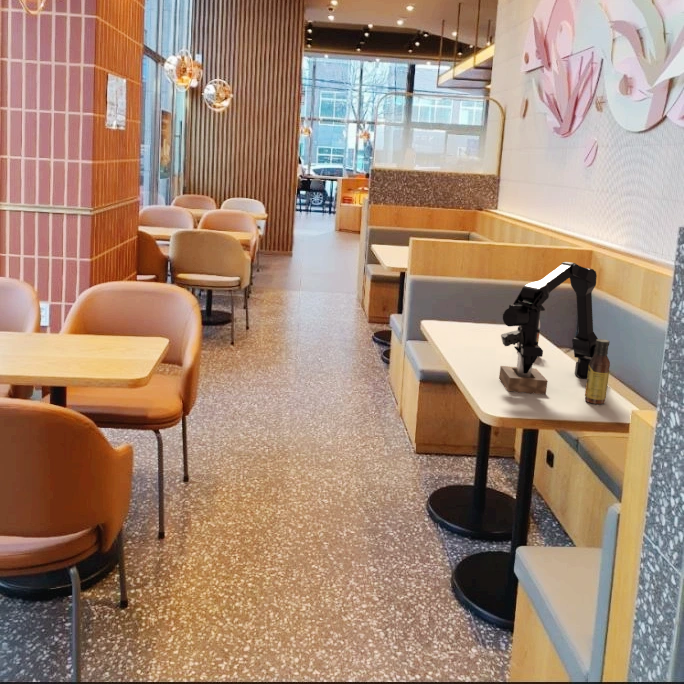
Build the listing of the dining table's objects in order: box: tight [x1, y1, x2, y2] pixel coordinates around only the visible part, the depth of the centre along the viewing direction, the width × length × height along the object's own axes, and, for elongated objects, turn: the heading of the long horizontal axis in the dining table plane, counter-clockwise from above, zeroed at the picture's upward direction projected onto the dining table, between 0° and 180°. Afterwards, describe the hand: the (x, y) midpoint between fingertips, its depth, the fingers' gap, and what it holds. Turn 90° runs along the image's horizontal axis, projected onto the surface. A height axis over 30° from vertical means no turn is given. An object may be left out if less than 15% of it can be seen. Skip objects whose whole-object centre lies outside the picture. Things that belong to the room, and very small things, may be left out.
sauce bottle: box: [584, 338, 611, 405], centre depth 259 cm, size 6×6×20 cm
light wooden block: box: [516, 352, 533, 378], centre depth 272 cm, size 4×4×9 cm
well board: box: [498, 365, 549, 395], centre depth 273 cm, size 12×16×4 cm
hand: (523, 371), depth 273 cm, fingers closed on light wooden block, 4 cm apart
